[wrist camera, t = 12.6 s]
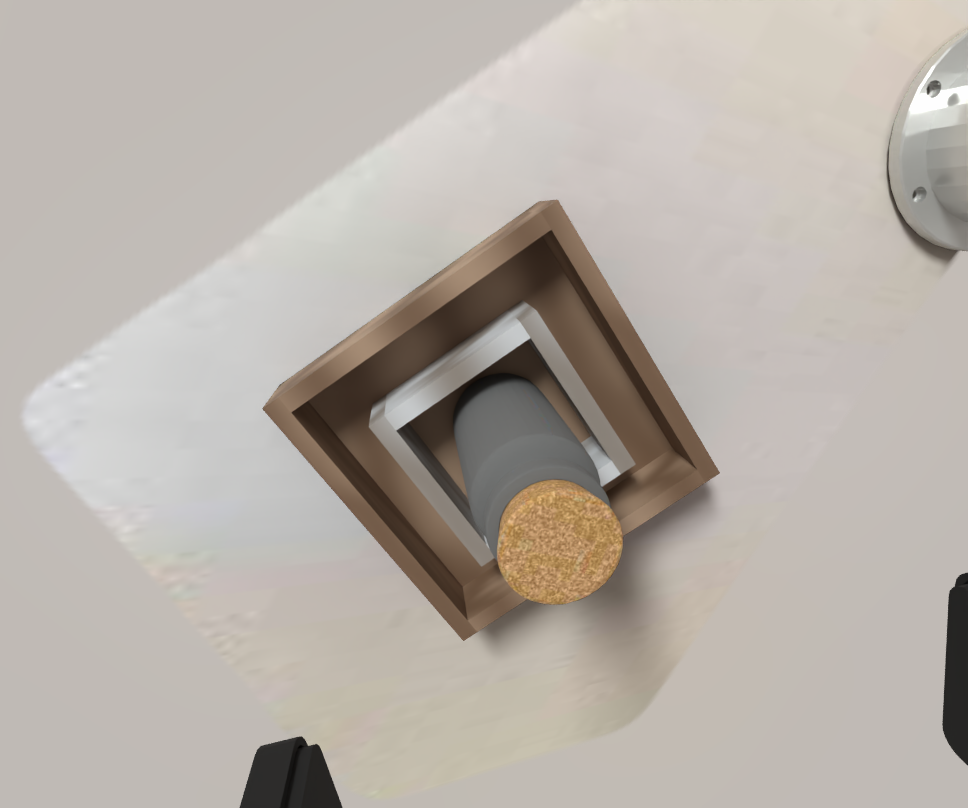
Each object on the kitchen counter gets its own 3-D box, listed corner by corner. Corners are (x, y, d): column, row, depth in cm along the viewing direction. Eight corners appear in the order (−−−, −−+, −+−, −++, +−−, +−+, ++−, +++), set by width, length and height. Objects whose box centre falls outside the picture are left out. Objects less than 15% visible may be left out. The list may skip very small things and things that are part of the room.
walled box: (538, 201, 34) (560, 199, 29) (686, 445, 40) (724, 476, 35) (279, 385, 35) (260, 411, 31) (457, 596, 41) (464, 646, 36)
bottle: (489, 352, 35) (544, 447, 21) (568, 405, 37) (670, 526, 23) (432, 433, 36) (449, 576, 22) (512, 481, 38) (576, 643, 24)
